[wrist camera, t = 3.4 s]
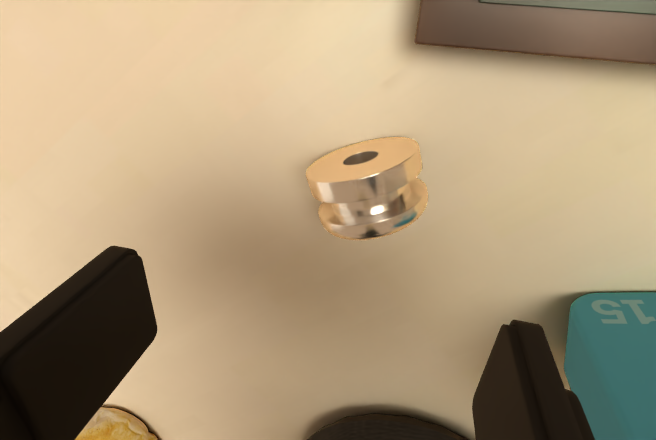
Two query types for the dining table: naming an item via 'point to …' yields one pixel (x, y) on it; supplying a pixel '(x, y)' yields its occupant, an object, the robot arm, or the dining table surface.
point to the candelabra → (383, 429)
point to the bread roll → (115, 427)
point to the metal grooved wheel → (369, 188)
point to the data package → (614, 363)
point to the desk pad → (544, 27)
